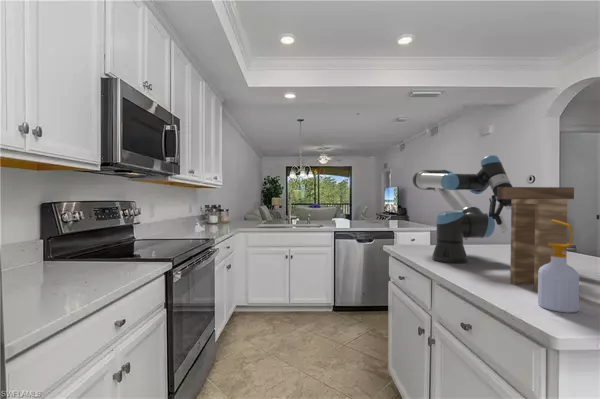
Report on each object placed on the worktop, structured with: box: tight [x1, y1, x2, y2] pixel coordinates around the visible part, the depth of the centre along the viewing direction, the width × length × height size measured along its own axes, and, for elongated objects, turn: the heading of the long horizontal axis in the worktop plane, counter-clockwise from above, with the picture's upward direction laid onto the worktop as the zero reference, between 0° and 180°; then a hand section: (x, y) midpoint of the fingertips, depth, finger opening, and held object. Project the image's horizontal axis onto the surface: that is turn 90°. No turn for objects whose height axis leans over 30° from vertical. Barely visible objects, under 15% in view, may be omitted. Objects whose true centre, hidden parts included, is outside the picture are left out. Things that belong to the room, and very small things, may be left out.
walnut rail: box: [497, 186, 575, 200], centre depth 115 cm, size 4×26×4 cm, turn 100°
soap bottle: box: [537, 219, 580, 314], centre depth 95 cm, size 9×9×25 cm
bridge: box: [509, 199, 568, 293], centre depth 116 cm, size 12×10×30 cm
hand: (521, 231), depth 136 cm, fingers open, 13 cm apart
